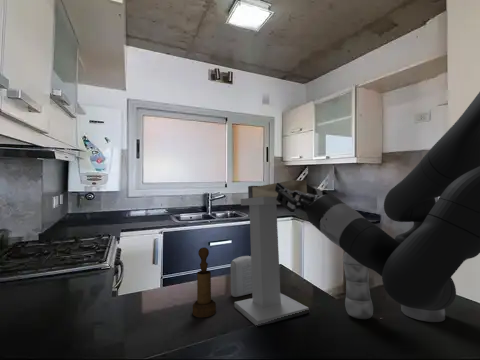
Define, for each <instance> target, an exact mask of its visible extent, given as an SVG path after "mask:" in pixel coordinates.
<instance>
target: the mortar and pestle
mask: <svg viewBox="0 0 480 360" xmlns="http://www.w3.org/2000/svg"><path fill="white" fill-rule="evenodd" d="M209 254H210V251H209V249H208V248H207V247H201V248H199V250H198V256H199V259H200V260H201V261H200V263H199V266H200V267H199V268H200V270H199V271H197V273H196V274H197V275H196V277H197V278H196V279H197V281H196V282H197V283H196V285H197V286H196V287H197V289H196V290H197V291H196V292H197V293H196V300H195V301H194V303H193V304H192V315H193V316H194V317H196V318H208V317H211V316H214V315H215V314H216V312H217V305H216V304H217V303H216V301H214V300H213V299H212V282H211V281H212V275H211V274H212V272H211V271H210V270H208V267H209V266H208V265H209V263H208V262H207V258H208V256H209Z"/></svg>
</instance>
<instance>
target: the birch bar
mask: <svg viewBox="0 0 480 360" xmlns="http://www.w3.org/2000/svg"><path fill="white" fill-rule="evenodd" d="M277 183H278V182H276V183H275V182H274V183H269V184H264V185H249V186H247V194H248V195H247V198H256V197H277V196H278V193H277V192H276V191H275V187H276V184H277ZM279 183H281V184H282V185H284V186H285V187H286V188H288V189H289V190H292V191H295V190H298V191H300V192H303V193H306V194H307V185H306V183H307V180H306V179H304V180H299V179H297V180H296V179H292V180H287V181H280V182H279ZM288 194H289V193H288ZM289 195H290V196H292V194H289ZM298 196H299V195H297V197H298Z"/></svg>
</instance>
